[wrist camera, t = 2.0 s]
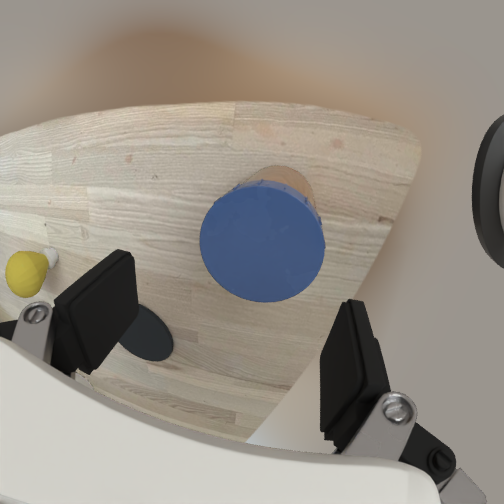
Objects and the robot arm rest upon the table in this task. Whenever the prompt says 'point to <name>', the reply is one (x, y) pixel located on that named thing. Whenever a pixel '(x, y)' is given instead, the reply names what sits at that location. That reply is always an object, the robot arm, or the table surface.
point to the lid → (263, 241)
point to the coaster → (148, 337)
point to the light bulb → (29, 271)
